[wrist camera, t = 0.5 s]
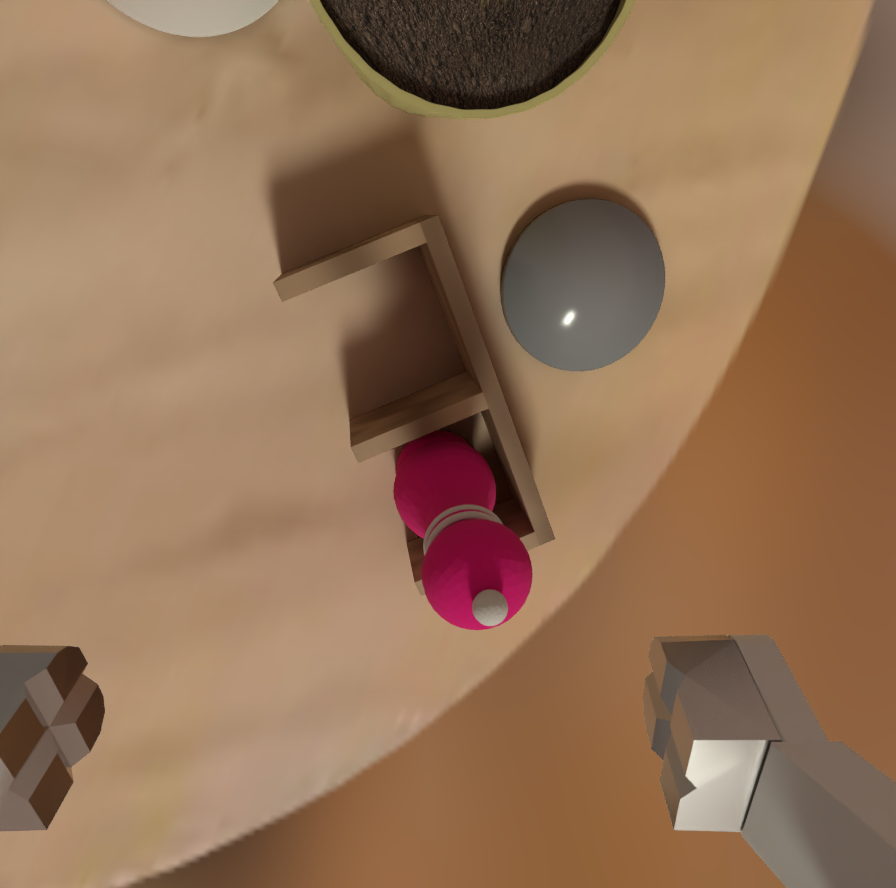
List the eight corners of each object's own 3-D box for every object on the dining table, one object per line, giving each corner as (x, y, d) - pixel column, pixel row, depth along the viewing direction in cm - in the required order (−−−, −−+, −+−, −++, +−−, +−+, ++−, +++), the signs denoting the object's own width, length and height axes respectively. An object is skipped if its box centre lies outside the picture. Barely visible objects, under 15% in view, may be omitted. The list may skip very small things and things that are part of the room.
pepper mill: (380, 503, 50) (405, 672, 31) (400, 415, 48) (439, 541, 29) (469, 516, 52) (543, 686, 33) (492, 432, 49) (584, 562, 31)
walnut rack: (412, 554, 52) (421, 595, 46) (281, 274, 43) (273, 282, 38) (532, 504, 52) (555, 538, 46) (425, 215, 44) (438, 214, 38)
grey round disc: (482, 227, 44) (485, 228, 43) (644, 177, 45) (651, 177, 44) (522, 388, 49) (525, 392, 48) (669, 341, 49) (676, 343, 48)
